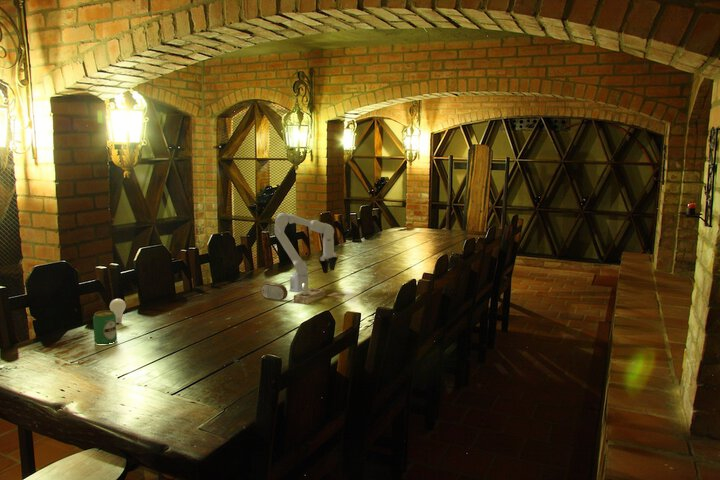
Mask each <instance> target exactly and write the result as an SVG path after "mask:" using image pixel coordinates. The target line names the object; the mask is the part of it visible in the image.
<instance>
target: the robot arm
mask: <svg viewBox="0 0 720 480" xmlns="http://www.w3.org/2000/svg"><path fill="white" fill-rule="evenodd" d="M274 221H275V222H274V235H275V236H276V237H275V238H277V240H278V241H279V243H280V245H281V246H282V248H283V250H284V251H285V252H286V254H287V255H288V257H289V259H290V260H291V262H292V264H293V266H294V268H295V273H292V274H291V275H290V278H289V289H288V290H289V291H290V292H296V293H297V292H298V293H301V292H302V283H308V284H309V273H308V265H307V263H306V261H304V260H303V259H302V258H301V257H300V255H299V254H298V252H297V250H296V249H295V248H294V245H293V244H292V242H291V241H290V239H289V238H288V236H287V235H286V233H285V230H286V227H287V225H288V223H289V225H291V224H298V225H302V226H306V227H308V229H309V230H310V231H313V232H316V233H319V234H323V238H322V243H323V244H322V246H323V247H322V249H323V253H322V256H320V257H319V258H320V259H319V262H318V263H320V266H321V268H322V272H323V274H327V273H328V270H329V269H330V271H334V270H335V269H336V263H337V260H338V259H339V257H338V256H337V255H338V254H337V252H335V240H334V239H335V238H334V236H335V228H334V227H333V226H332V225H331V224H330V223H327V222H325V223H324V222H321V221H319V219H312V220H309V219H306V218H303V217H300V216H298V215H295V214H291V213H286V212H279V213H278V214H277V216H276V217H275V220H274ZM308 289H310V288H309V287H308Z"/></svg>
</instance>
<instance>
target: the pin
mask: <svg viewBox="0 0 720 480" xmlns="http://www.w3.org/2000/svg"><path fill="white" fill-rule="evenodd" d="M308 288H309V282H308V283H302V296H308Z"/></svg>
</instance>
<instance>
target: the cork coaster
mask: <svg viewBox="0 0 720 480" xmlns="http://www.w3.org/2000/svg"><path fill="white" fill-rule="evenodd" d="M347 295H348V293H343V292H342V293H341V292H331V293H329V294H328V295H326V296H327V297H332V298H338V299H341V298H343V297H344V296H347Z"/></svg>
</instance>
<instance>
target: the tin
mask: <svg viewBox="0 0 720 480" xmlns="http://www.w3.org/2000/svg"><path fill="white" fill-rule="evenodd" d="M260 294H261V296H262V297H263V298H264V299H267V300H273V301H283V300H285V299H286V298H287V297H288V290H287V287H286V286H285V285H284V284H282V283H277V282H271V281H270V282H269V281H268V282H265V283H263V284H262V285H261V286H260Z"/></svg>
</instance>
